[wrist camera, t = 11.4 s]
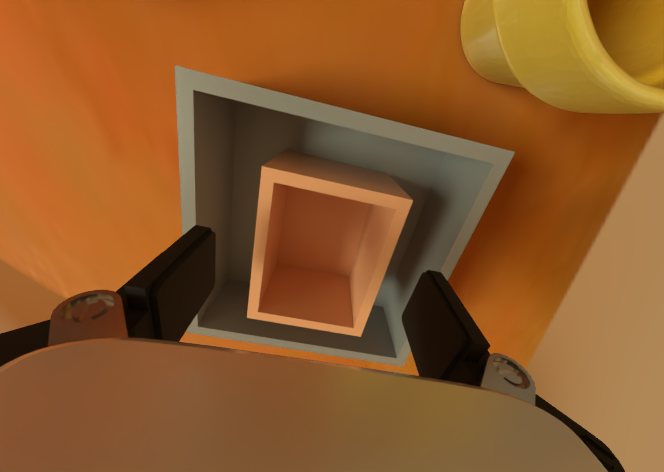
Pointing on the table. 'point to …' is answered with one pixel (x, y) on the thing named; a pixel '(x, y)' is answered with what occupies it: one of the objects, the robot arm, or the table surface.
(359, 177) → the terracotta crate
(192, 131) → the grey crate
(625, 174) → the table surface
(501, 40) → the plant pot
